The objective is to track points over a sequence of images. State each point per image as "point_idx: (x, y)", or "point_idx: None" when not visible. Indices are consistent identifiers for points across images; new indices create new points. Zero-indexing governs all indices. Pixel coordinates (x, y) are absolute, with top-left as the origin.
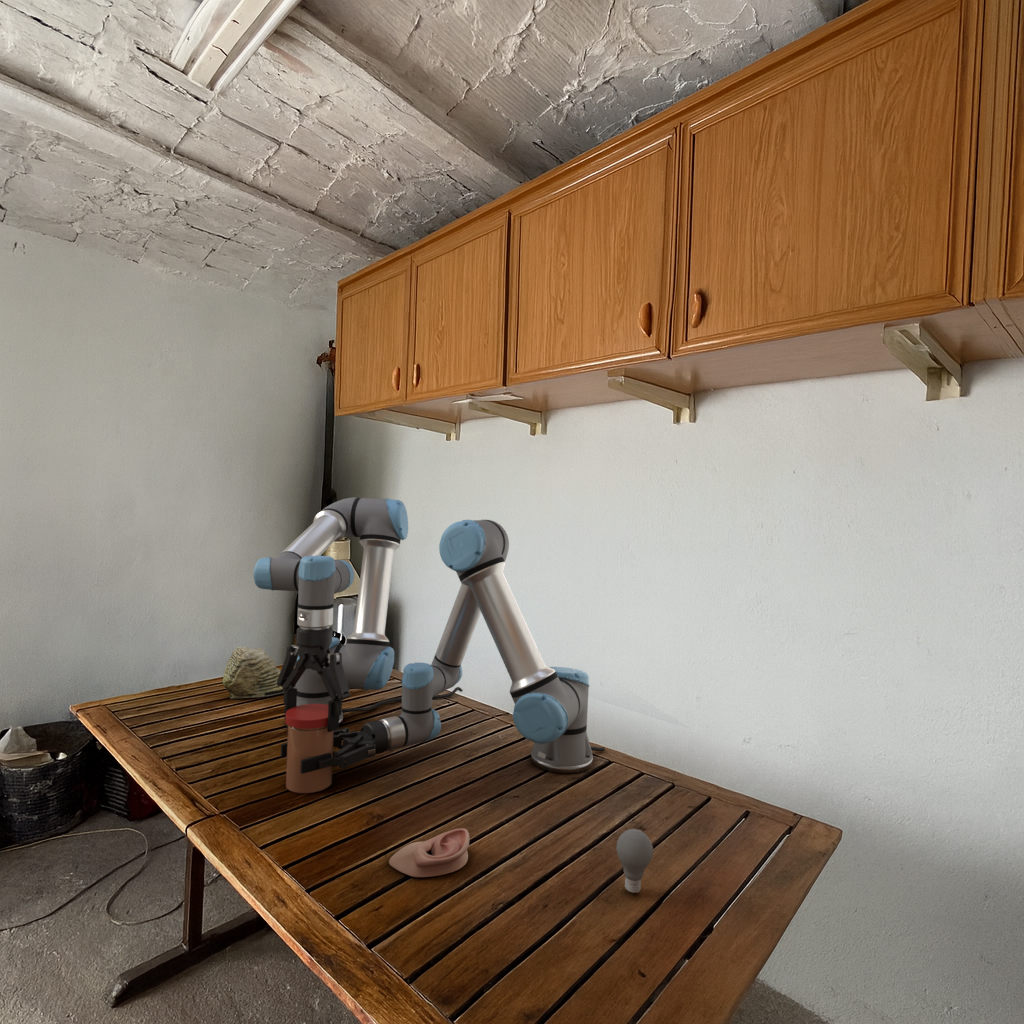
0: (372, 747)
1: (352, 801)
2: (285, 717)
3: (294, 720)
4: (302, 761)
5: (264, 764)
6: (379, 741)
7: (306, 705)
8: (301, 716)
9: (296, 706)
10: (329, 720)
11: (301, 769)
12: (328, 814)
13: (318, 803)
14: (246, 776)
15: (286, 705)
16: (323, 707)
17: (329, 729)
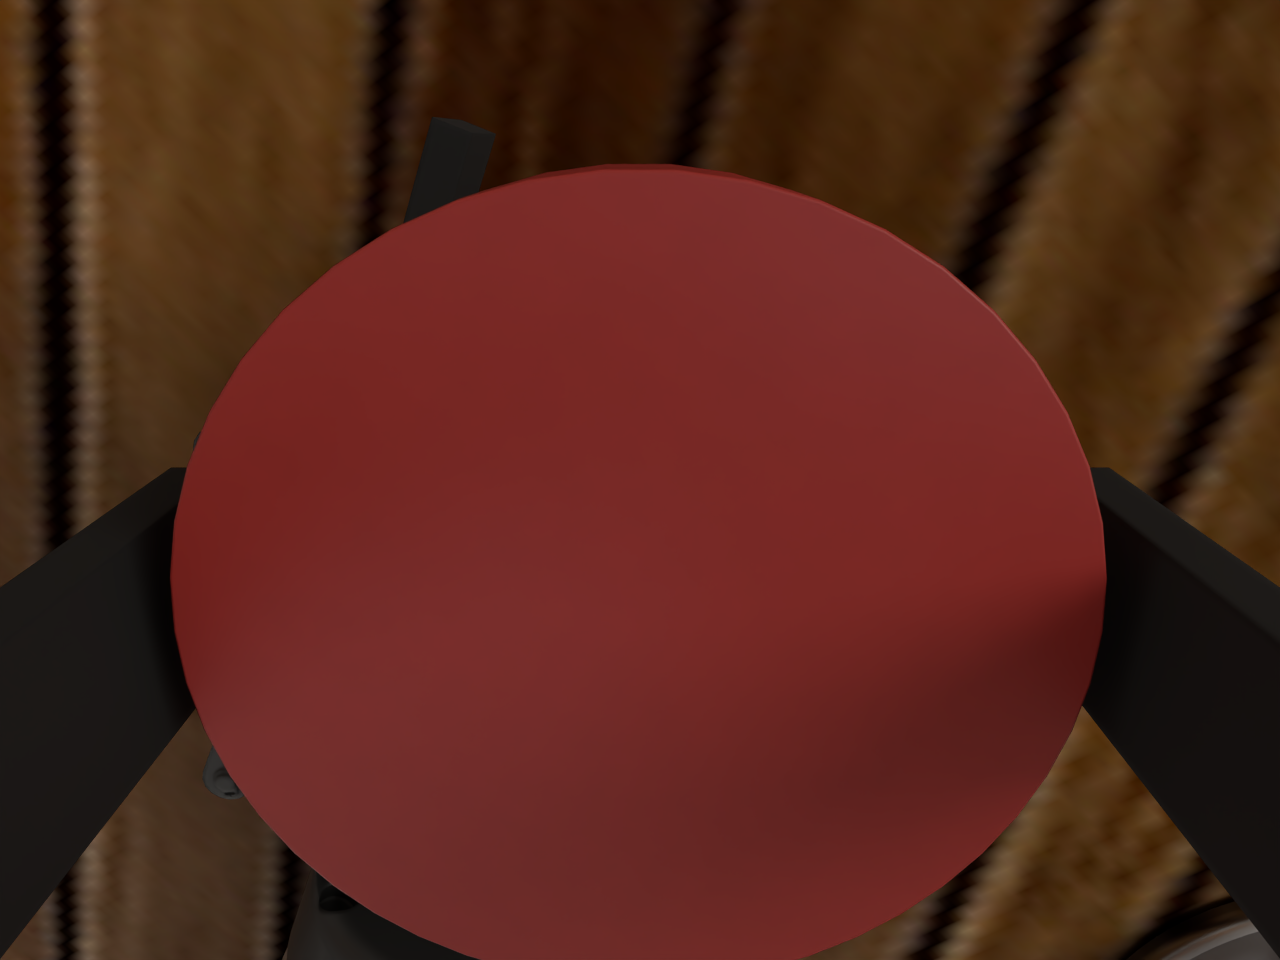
0: (213, 753)
1: (161, 298)
2: (1112, 485)
3: (601, 172)
4: (435, 119)
5: (1164, 405)
6: (308, 877)
7: (946, 817)
8: (598, 372)
9: (1071, 704)
10: (85, 543)
11: (467, 124)
12: (123, 35)
13: (327, 134)
14: (1157, 172)
15: (1229, 583)
16: (628, 880)
17: (163, 481)
